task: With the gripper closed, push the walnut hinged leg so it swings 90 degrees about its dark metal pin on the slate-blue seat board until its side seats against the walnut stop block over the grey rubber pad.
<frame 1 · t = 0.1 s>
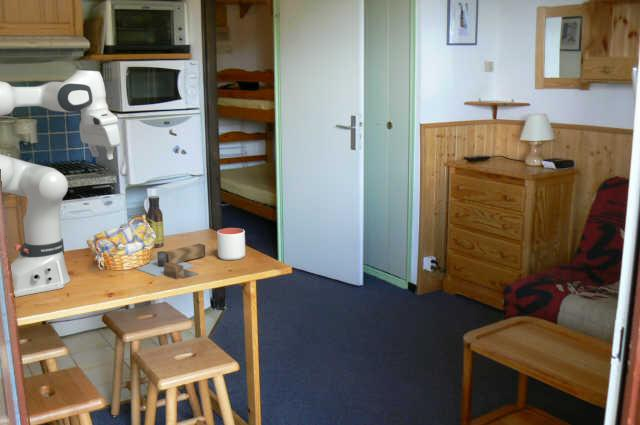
hand: (102, 157, 240), 39 cm above the table, tool pointing down, fingers open, 8 cm apart
leg: (180, 254, 254), point 3 cm above the table, hinge at 0.0°
sauce bottle: (156, 246, 275), on the table
canned food: (132, 253, 265), on the table
cup: (231, 258, 260), on the table
seat board: (162, 266, 249), on the table
stop block: (173, 276, 238), on the table
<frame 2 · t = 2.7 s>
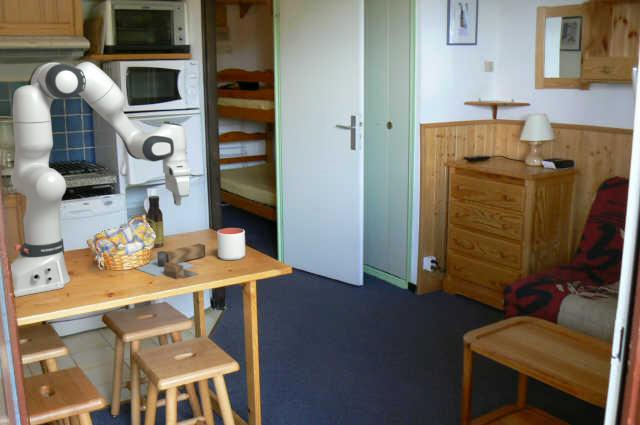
hand: (177, 204, 257), 19 cm above the table, tool pointing down, fingers closed
nothing on the table moved.
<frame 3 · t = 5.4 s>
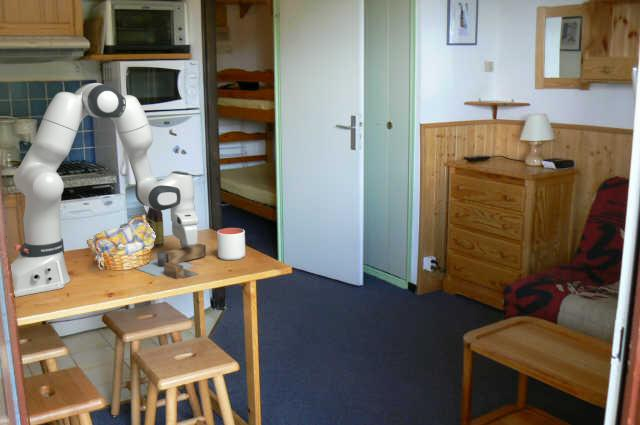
hand: (184, 252, 259), 2 cm above the table, tool pointing down, fingers closed
leg: (181, 254, 253), point 3 cm above the table, hinge at -1.1°, touching gripper
everything else where it was.
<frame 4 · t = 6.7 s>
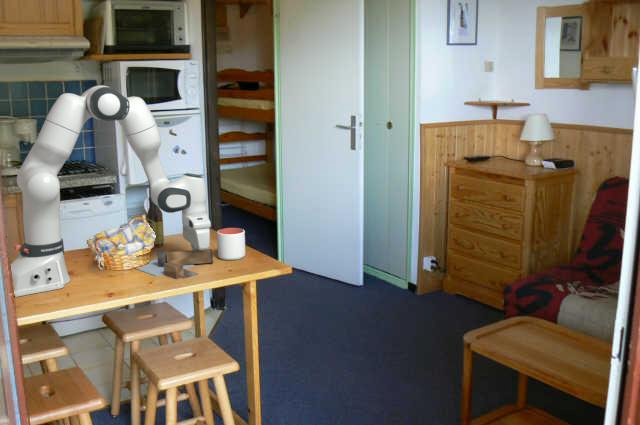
hand: (195, 255, 254), 2 cm above the table, tool pointing down, fingers closed
leg: (185, 257, 250), point 3 cm above the table, hinge at -31.7°, touching gripper
everything else where it was.
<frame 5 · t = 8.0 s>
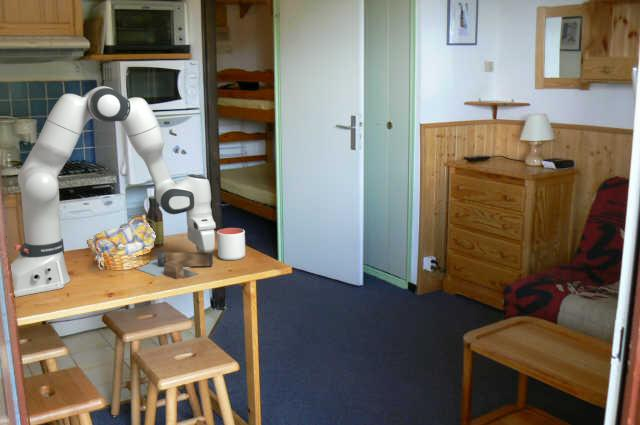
hand: (201, 257, 252), 2 cm above the table, tool pointing down, fingers closed
leg: (184, 258, 248), point 3 cm above the table, hinge at -45.6°, touching gripper
everything else where it was.
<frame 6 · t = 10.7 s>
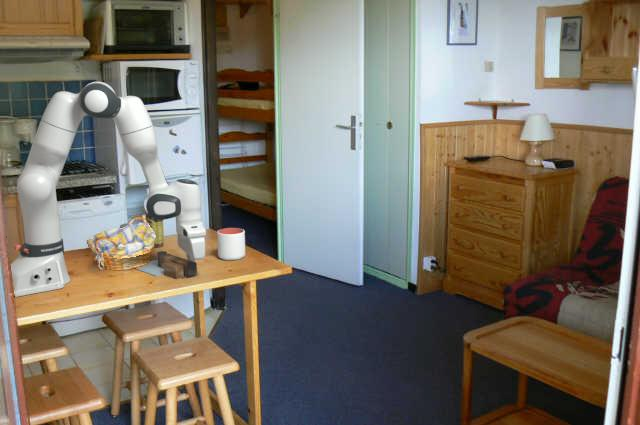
hand: (191, 265, 242), 2 cm above the table, tool pointing down, fingers closed
leg: (175, 263, 243), point 3 cm above the table, hinge at -89.5°, touching gripper
everything else where it was.
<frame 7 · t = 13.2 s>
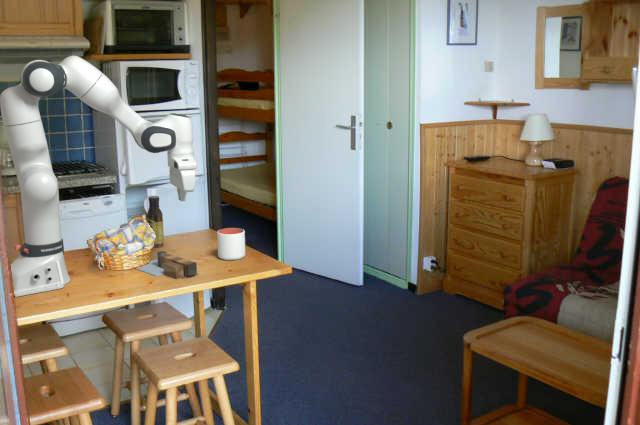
hand: (182, 200, 244), 24 cm above the table, tool pointing down, fingers closed
leg: (175, 263, 243), point 3 cm above the table, hinge at -89.7°
everything else where it was.
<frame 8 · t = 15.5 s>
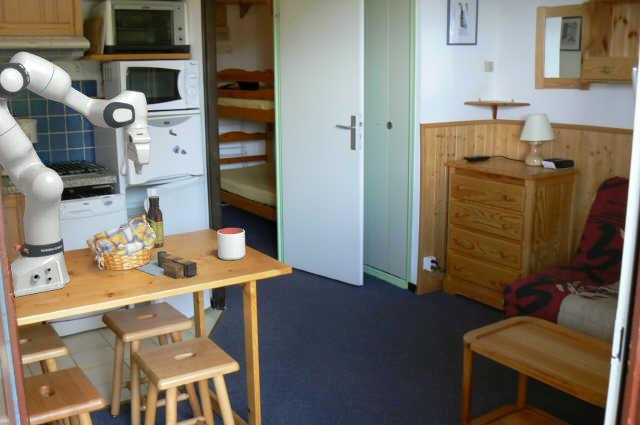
hand: (138, 174, 253), 31 cm above the table, tool pointing down, fingers closed
nothing on the table moved.
at the end: leg at -90° (first picture: +0°) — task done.
